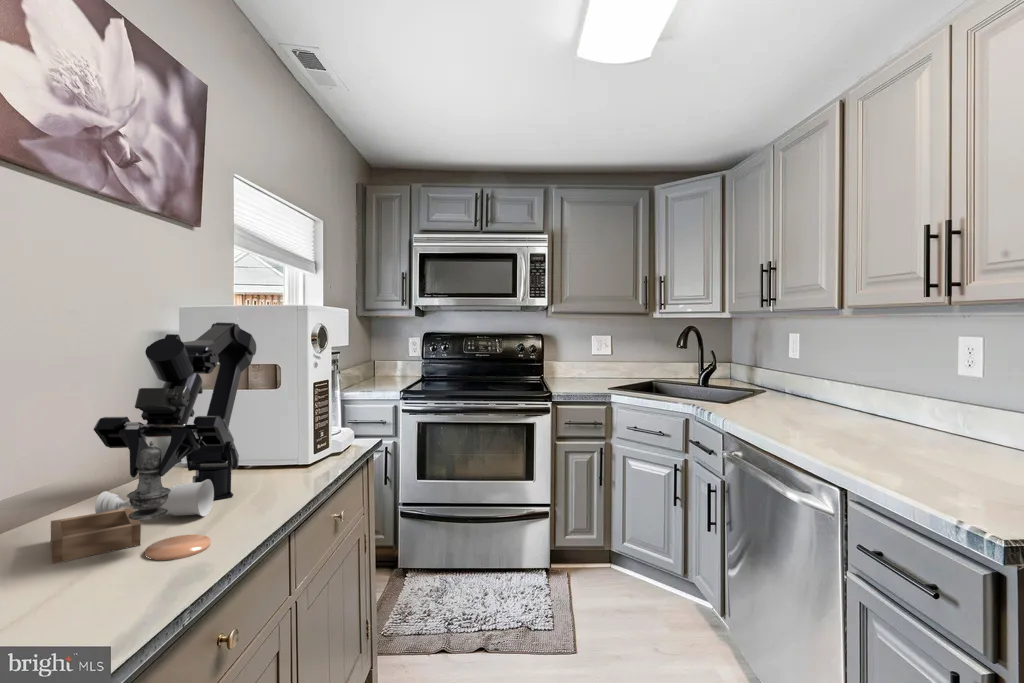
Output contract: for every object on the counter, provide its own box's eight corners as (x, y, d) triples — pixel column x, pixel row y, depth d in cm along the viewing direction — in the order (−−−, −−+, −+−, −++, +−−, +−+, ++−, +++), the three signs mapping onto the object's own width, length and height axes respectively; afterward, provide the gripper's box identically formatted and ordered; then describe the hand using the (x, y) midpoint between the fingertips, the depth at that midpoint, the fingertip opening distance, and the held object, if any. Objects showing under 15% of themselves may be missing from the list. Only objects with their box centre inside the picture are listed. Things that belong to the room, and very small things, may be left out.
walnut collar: (131, 526, 94) (131, 507, 94) (140, 545, 86) (140, 524, 86) (50, 541, 86) (50, 521, 86) (51, 563, 78) (52, 540, 78)
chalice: (98, 533, 96) (202, 524, 98) (86, 504, 93) (194, 496, 96) (119, 505, 102) (216, 498, 105) (109, 478, 99) (209, 471, 102)
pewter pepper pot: (159, 520, 82) (162, 445, 82) (118, 521, 81) (121, 444, 81) (176, 508, 88) (179, 437, 88) (138, 508, 87) (141, 437, 87)
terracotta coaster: (203, 533, 91) (203, 530, 91) (216, 550, 84) (216, 546, 84) (141, 547, 85) (141, 543, 85) (149, 565, 78) (150, 561, 78)
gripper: (100, 369, 86) (55, 449, 75) (222, 369, 90) (196, 446, 79) (125, 409, 94) (88, 487, 83) (236, 408, 98) (214, 483, 87)
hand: (146, 475), depth 83 cm, fingers closed on pewter pepper pot, 4 cm apart
